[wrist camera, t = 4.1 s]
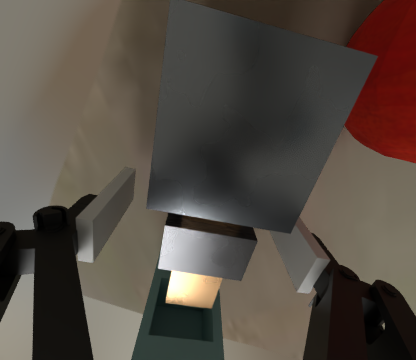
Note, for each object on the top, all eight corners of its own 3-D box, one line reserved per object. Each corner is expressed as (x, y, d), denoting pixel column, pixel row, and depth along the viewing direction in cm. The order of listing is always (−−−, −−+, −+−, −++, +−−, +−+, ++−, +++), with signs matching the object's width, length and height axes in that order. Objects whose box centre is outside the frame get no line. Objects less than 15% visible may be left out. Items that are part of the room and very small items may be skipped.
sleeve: (192, 52, 15) (170, -4, 6) (273, 74, 16) (378, 56, 6) (177, 143, 18) (146, 208, 8) (246, 158, 19) (290, 233, 9)
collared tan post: (203, 32, 11) (202, -4, 6) (288, 56, 11) (342, 37, 7) (164, 255, 17) (150, 313, 13) (219, 264, 18) (223, 322, 13)
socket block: (163, 240, 22) (129, 364, 12) (216, 248, 23) (225, 373, 13) (157, 274, 25) (125, 404, 15) (205, 281, 25) (206, 410, 15)
